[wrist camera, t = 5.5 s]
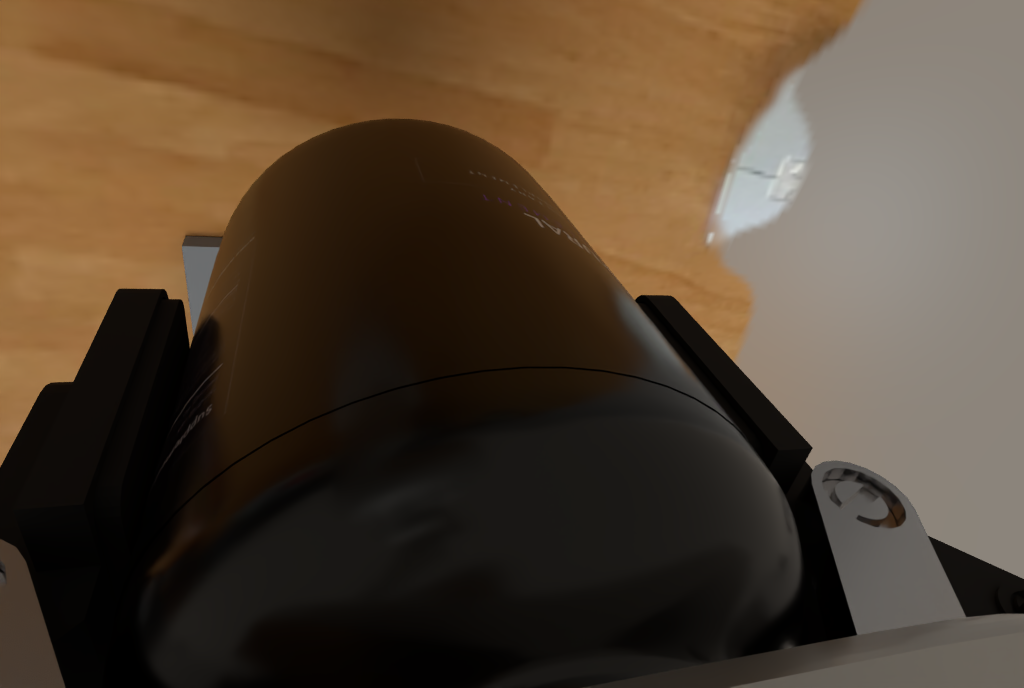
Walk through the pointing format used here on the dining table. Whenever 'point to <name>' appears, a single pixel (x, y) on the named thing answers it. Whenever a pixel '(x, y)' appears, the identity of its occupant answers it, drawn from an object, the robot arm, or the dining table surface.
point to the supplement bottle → (440, 451)
